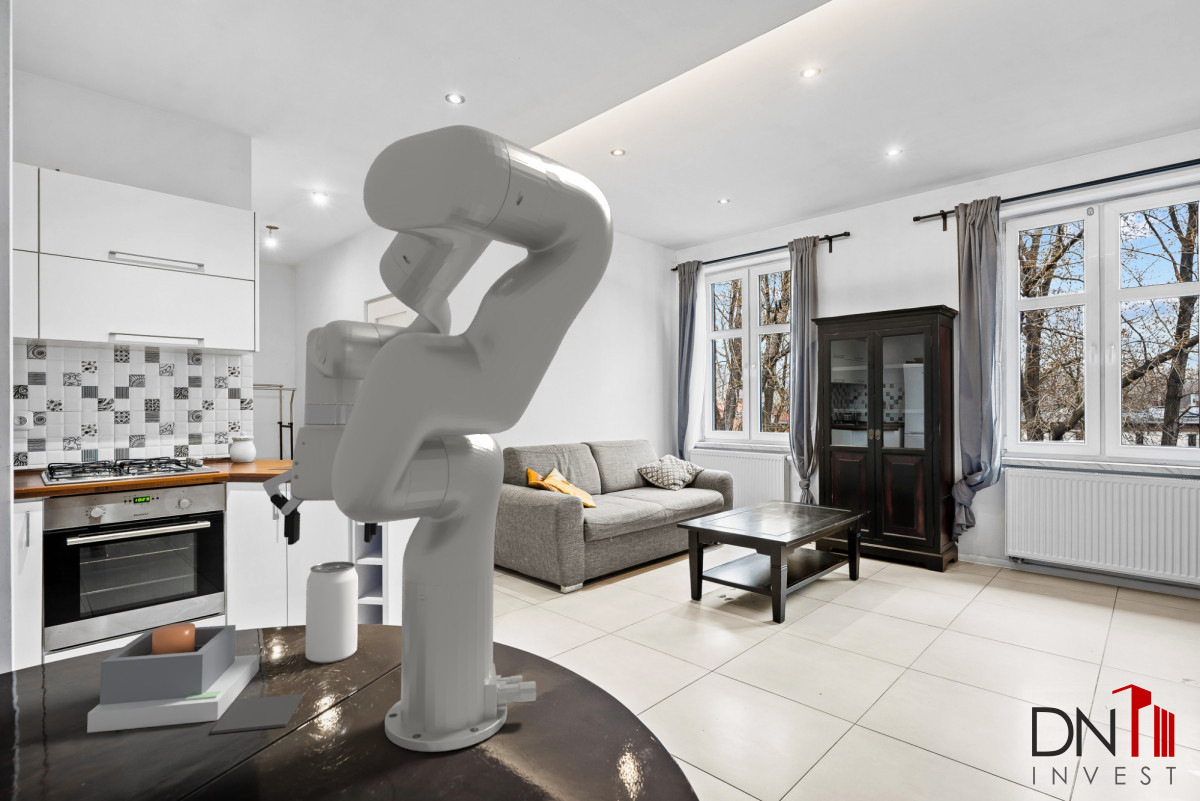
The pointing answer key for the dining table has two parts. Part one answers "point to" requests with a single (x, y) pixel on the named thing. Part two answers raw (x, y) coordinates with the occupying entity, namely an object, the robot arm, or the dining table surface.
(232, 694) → the box
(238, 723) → the mat
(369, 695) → the dining table surface
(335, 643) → the can
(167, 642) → the button
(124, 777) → the dining table surface
